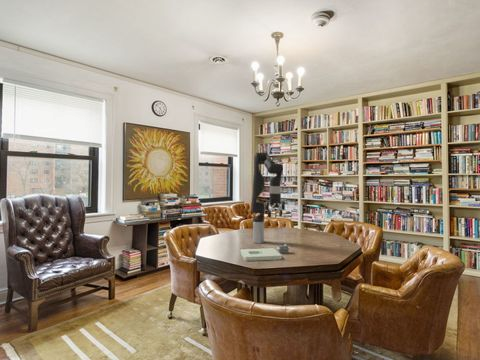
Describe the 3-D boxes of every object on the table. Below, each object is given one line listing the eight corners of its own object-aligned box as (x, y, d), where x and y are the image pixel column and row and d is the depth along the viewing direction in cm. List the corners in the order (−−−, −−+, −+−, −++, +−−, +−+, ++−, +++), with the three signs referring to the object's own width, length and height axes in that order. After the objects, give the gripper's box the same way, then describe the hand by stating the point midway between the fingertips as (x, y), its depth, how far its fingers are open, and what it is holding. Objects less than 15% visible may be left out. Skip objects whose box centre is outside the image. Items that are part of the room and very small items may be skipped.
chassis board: (240, 252, 197) (240, 249, 197) (273, 251, 201) (273, 247, 201) (245, 260, 178) (245, 256, 178) (281, 259, 181) (281, 255, 181)
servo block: (276, 252, 199) (276, 244, 199) (288, 251, 200) (288, 243, 200) (278, 253, 195) (278, 245, 195) (290, 253, 197) (290, 245, 197)
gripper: (281, 192, 197) (281, 215, 197) (263, 192, 191) (263, 216, 191) (287, 192, 190) (287, 216, 190) (268, 193, 184) (268, 217, 184)
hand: (275, 216), depth 191 cm, fingers open, 8 cm apart
